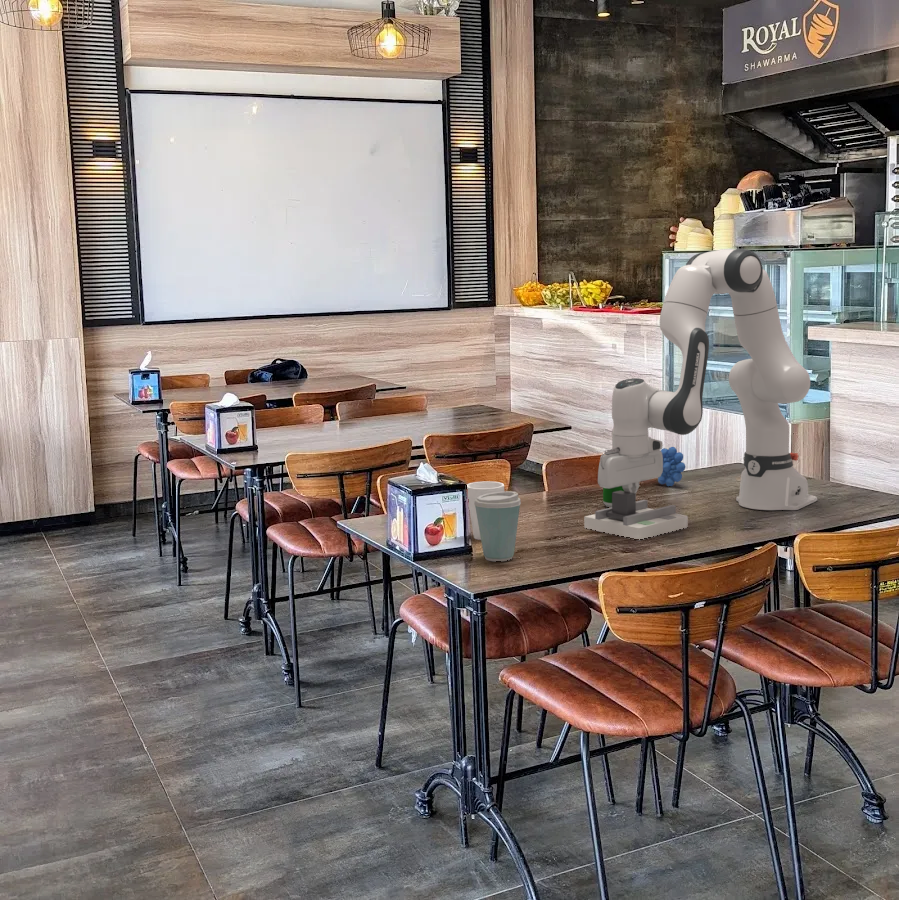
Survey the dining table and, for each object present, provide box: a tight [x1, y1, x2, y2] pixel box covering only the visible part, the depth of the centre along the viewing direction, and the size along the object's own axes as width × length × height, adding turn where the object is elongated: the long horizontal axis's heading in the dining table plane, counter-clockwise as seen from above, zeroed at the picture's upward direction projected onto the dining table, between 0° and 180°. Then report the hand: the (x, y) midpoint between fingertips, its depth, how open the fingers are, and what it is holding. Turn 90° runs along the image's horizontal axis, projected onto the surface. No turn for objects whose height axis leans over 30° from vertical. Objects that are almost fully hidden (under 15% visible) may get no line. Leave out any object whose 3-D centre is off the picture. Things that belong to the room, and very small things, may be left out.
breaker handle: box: [606, 491, 638, 520], centre depth 273 cm, size 5×7×6 cm
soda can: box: [602, 486, 624, 508], centre depth 300 cm, size 8×8×12 cm
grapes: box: [657, 446, 687, 487], centre depth 325 cm, size 12×7×12 cm, turn 38°
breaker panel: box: [583, 499, 689, 541], centre depth 276 cm, size 18×18×5 cm
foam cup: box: [466, 480, 505, 541], centre depth 271 cm, size 10×9×13 cm
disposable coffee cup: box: [474, 490, 522, 562], centre depth 251 cm, size 11×11×15 cm
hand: (630, 500), depth 275 cm, fingers closed
